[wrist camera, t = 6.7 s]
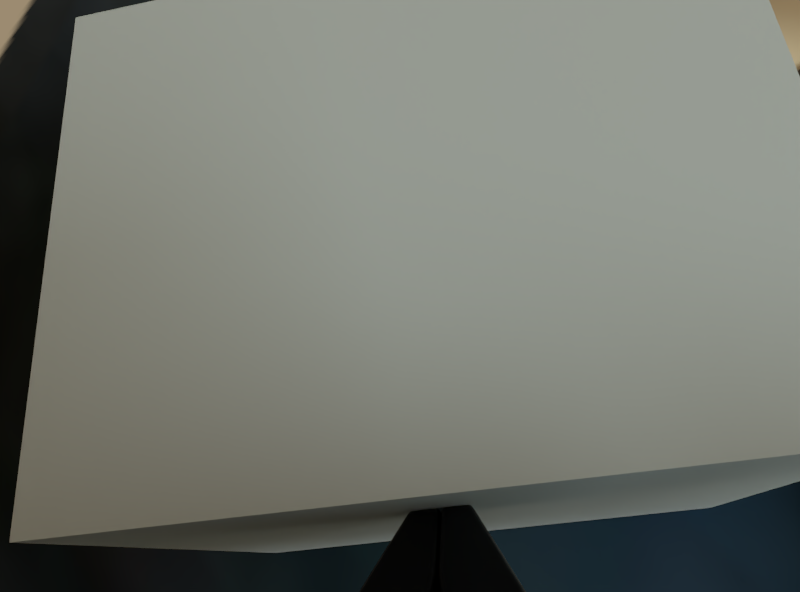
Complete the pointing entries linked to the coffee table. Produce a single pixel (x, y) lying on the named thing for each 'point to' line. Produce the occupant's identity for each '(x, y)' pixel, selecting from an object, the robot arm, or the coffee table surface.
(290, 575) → the coffee table surface
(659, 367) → the block
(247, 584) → the coffee table surface
